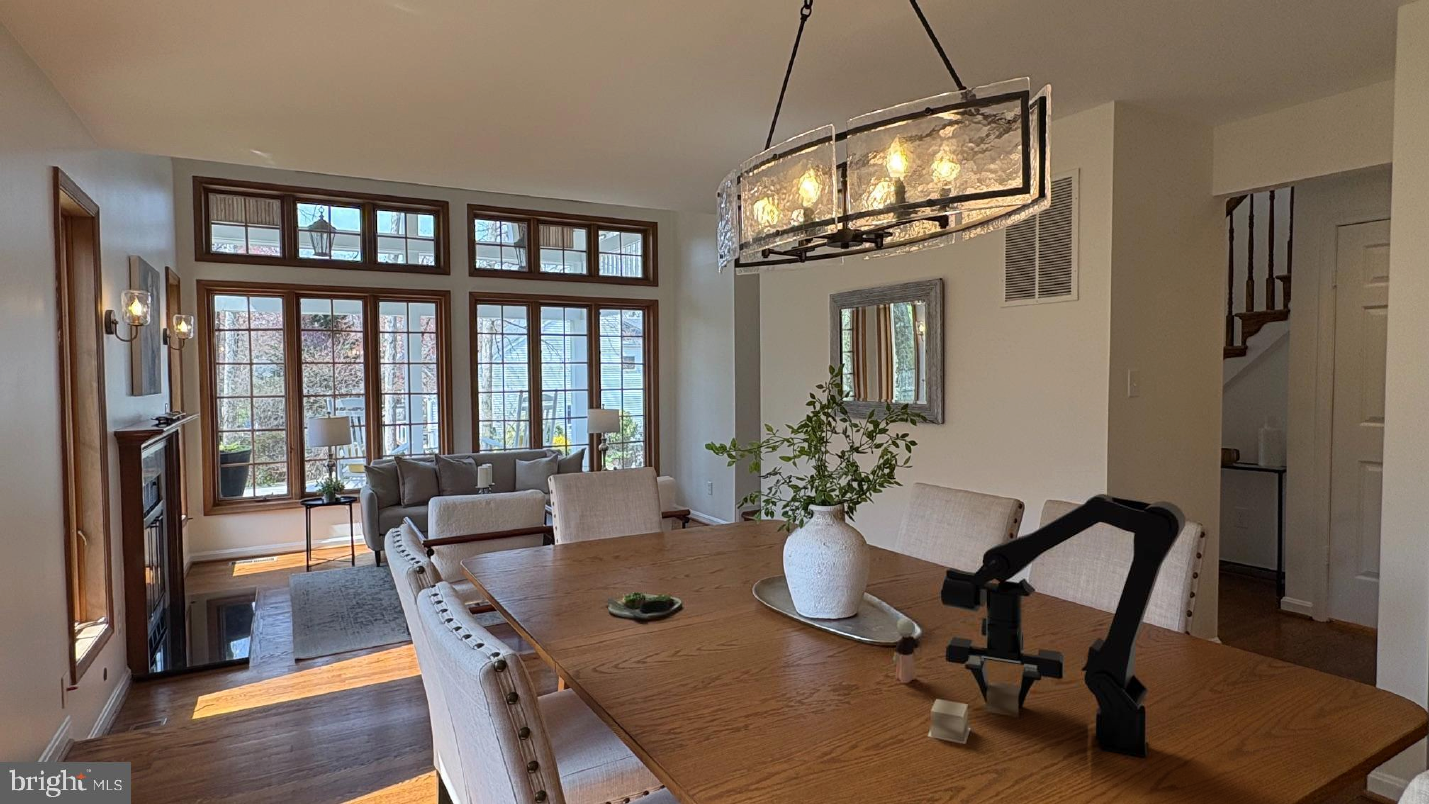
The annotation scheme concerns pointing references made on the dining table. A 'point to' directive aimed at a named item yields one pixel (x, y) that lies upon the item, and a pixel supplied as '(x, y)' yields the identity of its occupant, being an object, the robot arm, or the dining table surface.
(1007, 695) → the walnut block
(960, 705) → the maple block
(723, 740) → the dining table surface
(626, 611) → the salad plate
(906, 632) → the grandmother figurine
